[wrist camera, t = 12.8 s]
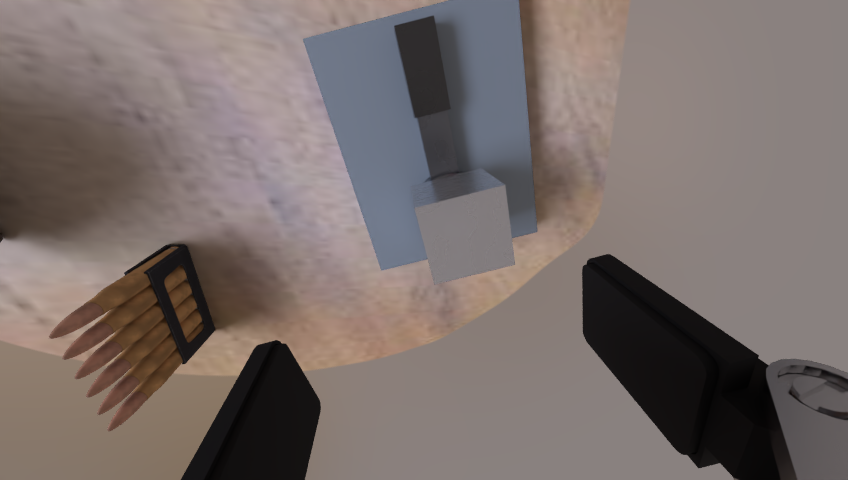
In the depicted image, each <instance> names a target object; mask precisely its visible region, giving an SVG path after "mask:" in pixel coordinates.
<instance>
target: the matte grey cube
mask: <svg viewBox="0 0 848 480" xmlns="http://www.w3.org/2000/svg"><path fill="white" fill-rule="evenodd" d="M411 192H412V198H413V203H414V209H415V213H416V216H417V220H418V224H419V228H420V232H421V235H422V239H423V243H424V247H425V251H426V254H427V258H428V262H429V266H430V270H431V273H432V277H433V281H434V285H435V284H439V283H443V282H447V281H451V280H455V279H459V278H463V277H467V276H471V275H475V274H479V273H483V272H487V271H491V270H496V269H500V268H504V267H508V266H512V265H515V260H514V252H513V244H512V235H511V227H510V219H509V211H508V203H507V195H506V187H505V184H503V183H502V182H500V181H499V180H497V179H496V178H495V177H493V176H492V175H490V174H489V173H487V172H486V171H485V170H483V169H482V168H479V169H475V170H471V171H468V172H464V173H460V174H456V175H452V176H448V177H444V178H440V179H436V180H432V181H428V182H424V183H421V184H417V185H413V186H411Z"/></svg>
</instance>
